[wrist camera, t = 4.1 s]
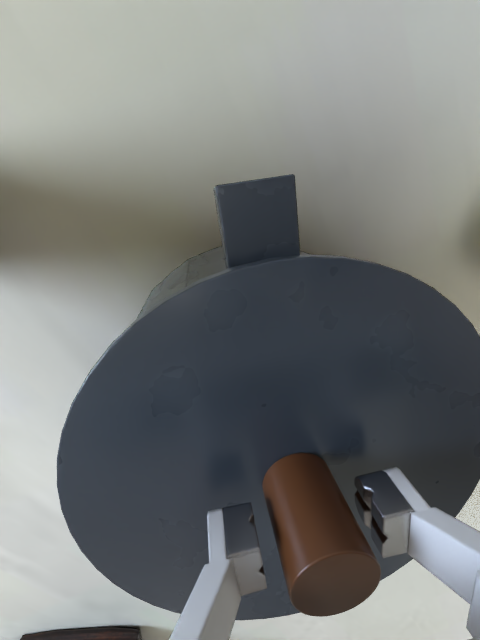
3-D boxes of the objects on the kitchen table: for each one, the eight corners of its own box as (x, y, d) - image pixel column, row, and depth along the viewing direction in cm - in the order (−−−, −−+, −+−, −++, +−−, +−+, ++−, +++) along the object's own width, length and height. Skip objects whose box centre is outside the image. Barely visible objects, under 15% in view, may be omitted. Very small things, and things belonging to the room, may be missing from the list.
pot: (169, 497, 24) (155, 666, 15) (84, 216, 16) (-44, 220, 8) (359, 454, 25) (449, 585, 16) (357, 175, 18) (520, 139, 9)
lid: (135, 628, 15) (111, 800, 10) (-12, 301, 9) (-204, 384, 5) (453, 544, 16) (547, 665, 12) (504, 215, 10) (725, 217, 6)
